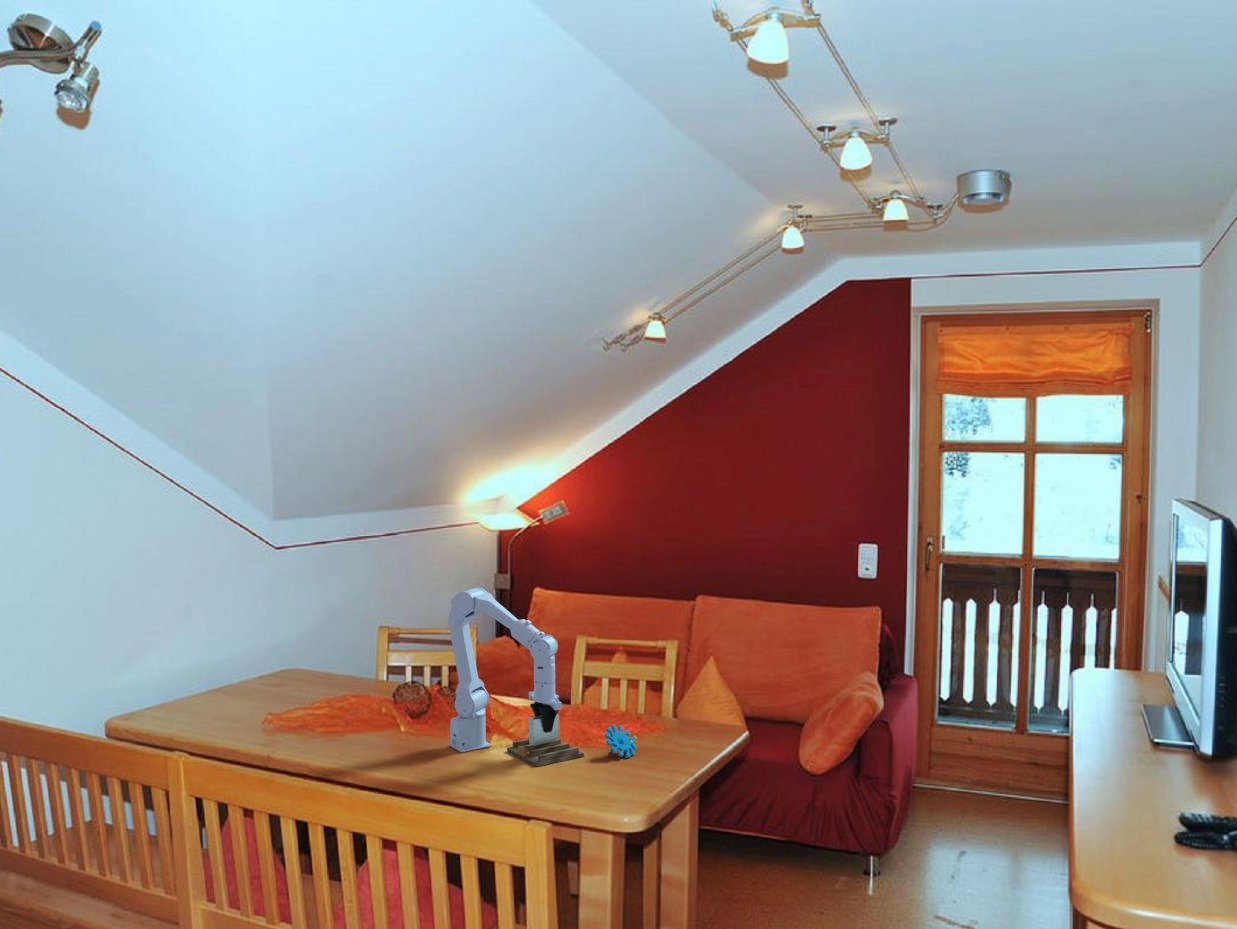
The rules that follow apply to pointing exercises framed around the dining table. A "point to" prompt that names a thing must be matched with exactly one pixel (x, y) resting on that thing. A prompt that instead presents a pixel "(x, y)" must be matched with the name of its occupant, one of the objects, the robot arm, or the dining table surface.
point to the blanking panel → (542, 731)
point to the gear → (620, 741)
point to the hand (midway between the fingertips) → (545, 730)
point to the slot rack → (544, 752)
